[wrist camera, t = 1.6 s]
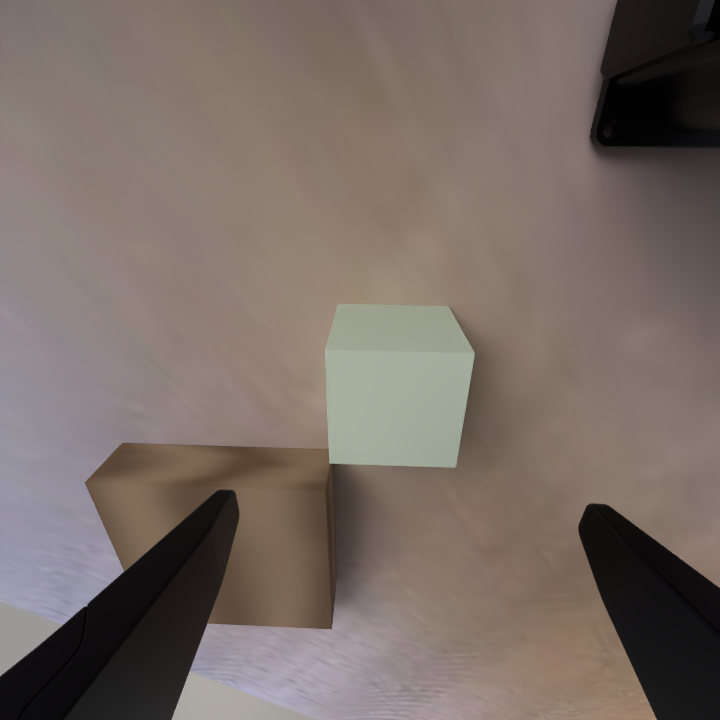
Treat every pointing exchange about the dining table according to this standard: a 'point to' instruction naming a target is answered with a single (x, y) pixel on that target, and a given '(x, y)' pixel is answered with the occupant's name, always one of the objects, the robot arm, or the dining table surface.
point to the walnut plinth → (255, 527)
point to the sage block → (396, 385)
